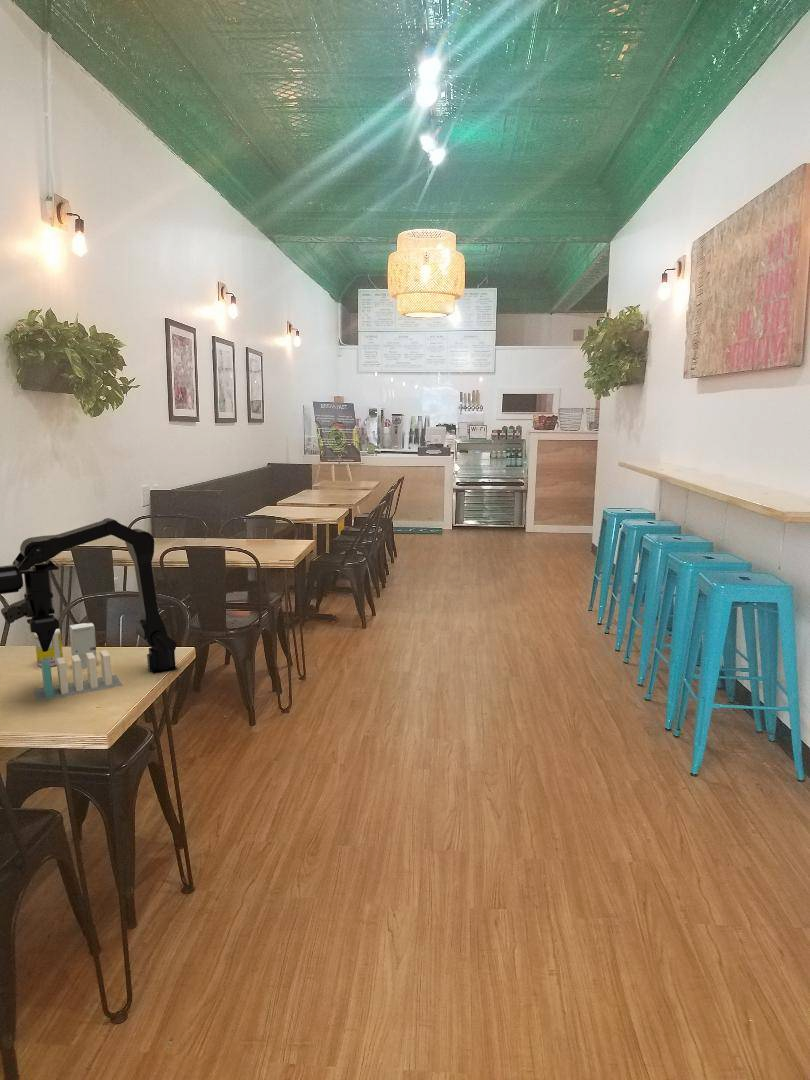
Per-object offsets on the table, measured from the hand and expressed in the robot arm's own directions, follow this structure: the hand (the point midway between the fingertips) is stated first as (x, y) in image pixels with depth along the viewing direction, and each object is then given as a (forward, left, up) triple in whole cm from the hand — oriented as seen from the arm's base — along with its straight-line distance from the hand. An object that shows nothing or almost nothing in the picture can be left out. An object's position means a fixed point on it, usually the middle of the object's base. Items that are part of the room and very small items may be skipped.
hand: (44, 649), depth 180 cm
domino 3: (-11, 0, -12) cm, 16 cm away
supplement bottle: (-3, -25, -12) cm, 28 cm away
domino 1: (-4, 0, -12) cm, 12 cm away
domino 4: (-14, 0, -12) cm, 18 cm away
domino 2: (-7, 0, -12) cm, 14 cm away
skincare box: (-11, -17, -12) cm, 24 cm away
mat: (-7, 0, -12) cm, 14 cm away
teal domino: (0, 0, -12) cm, 12 cm away
